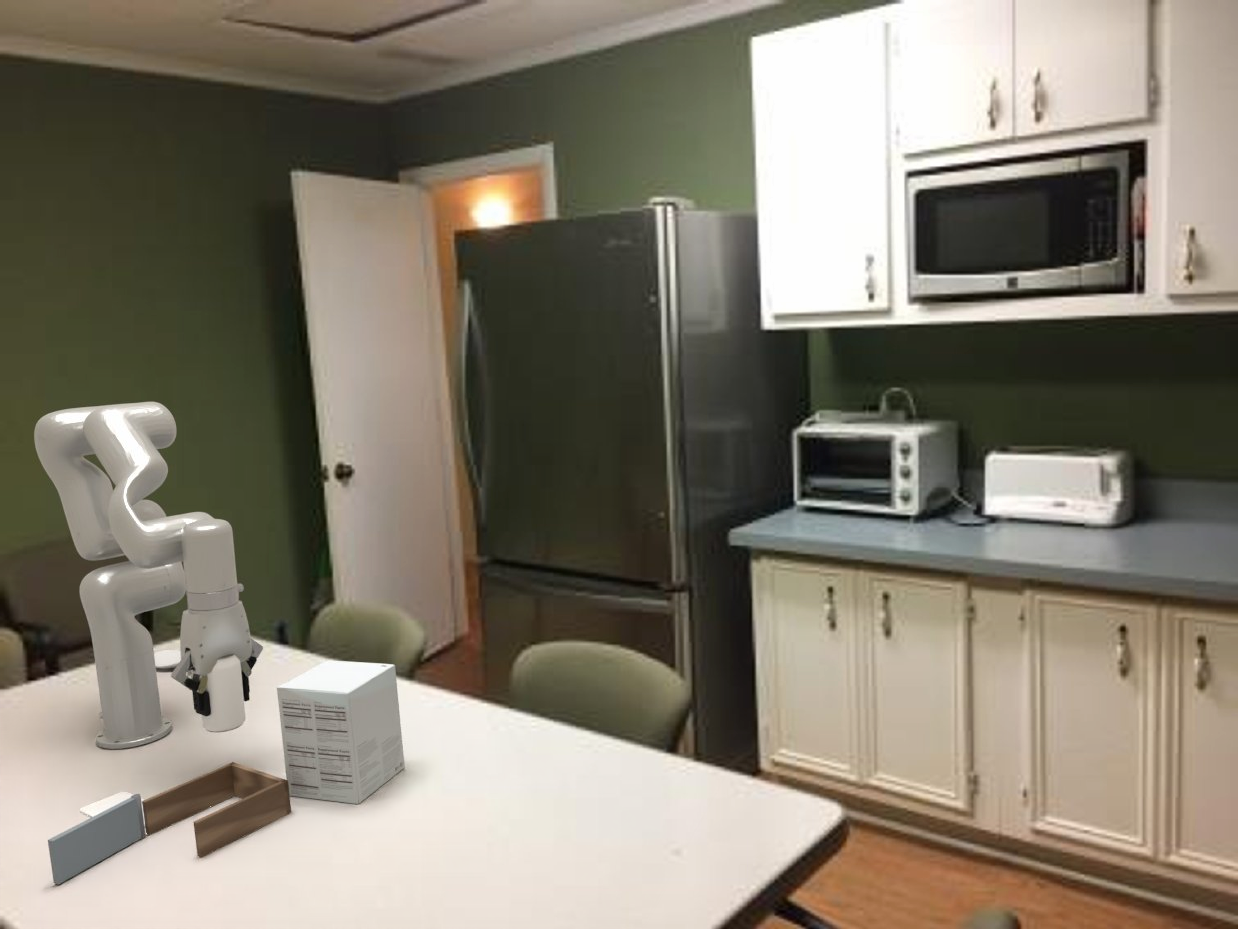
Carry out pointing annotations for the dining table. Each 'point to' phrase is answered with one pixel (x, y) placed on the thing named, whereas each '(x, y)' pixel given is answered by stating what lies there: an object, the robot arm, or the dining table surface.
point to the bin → (256, 808)
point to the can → (225, 696)
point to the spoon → (167, 658)
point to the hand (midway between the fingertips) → (222, 705)
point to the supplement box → (341, 730)
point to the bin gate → (96, 838)
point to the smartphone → (106, 804)
